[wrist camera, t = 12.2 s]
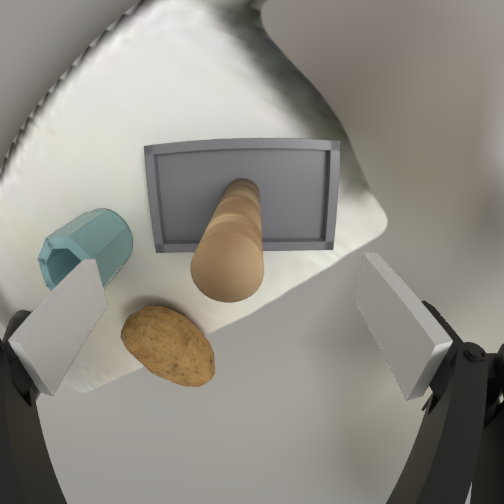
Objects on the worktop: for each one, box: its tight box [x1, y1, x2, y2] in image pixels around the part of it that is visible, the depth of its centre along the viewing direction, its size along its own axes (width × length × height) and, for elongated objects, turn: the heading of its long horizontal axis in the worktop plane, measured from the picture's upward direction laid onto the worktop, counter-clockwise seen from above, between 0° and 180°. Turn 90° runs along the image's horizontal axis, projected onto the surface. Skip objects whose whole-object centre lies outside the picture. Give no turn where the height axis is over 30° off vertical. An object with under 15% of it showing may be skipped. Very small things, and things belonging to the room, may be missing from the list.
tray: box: [144, 138, 340, 253], centre depth 29 cm, size 20×12×2 cm, turn 91°
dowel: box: [191, 178, 264, 302], centre depth 21 cm, size 4×4×17 cm
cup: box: [38, 208, 133, 291], centre depth 28 cm, size 8×8×10 cm
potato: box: [121, 306, 215, 387], centre depth 34 cm, size 10×14×8 cm
